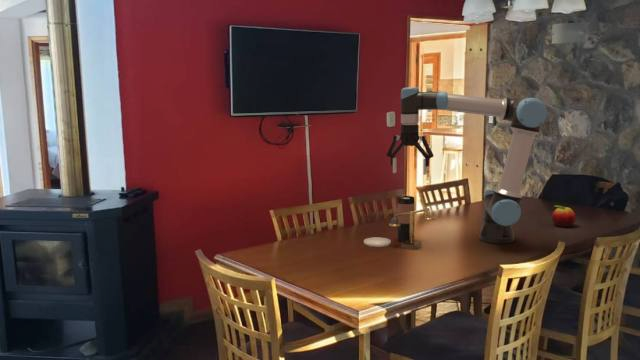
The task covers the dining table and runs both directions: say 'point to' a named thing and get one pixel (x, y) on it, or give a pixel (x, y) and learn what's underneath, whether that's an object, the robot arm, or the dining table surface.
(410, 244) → the balance
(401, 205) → the travel mug
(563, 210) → the fruit
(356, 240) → the dining table surface
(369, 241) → the cream round disc
